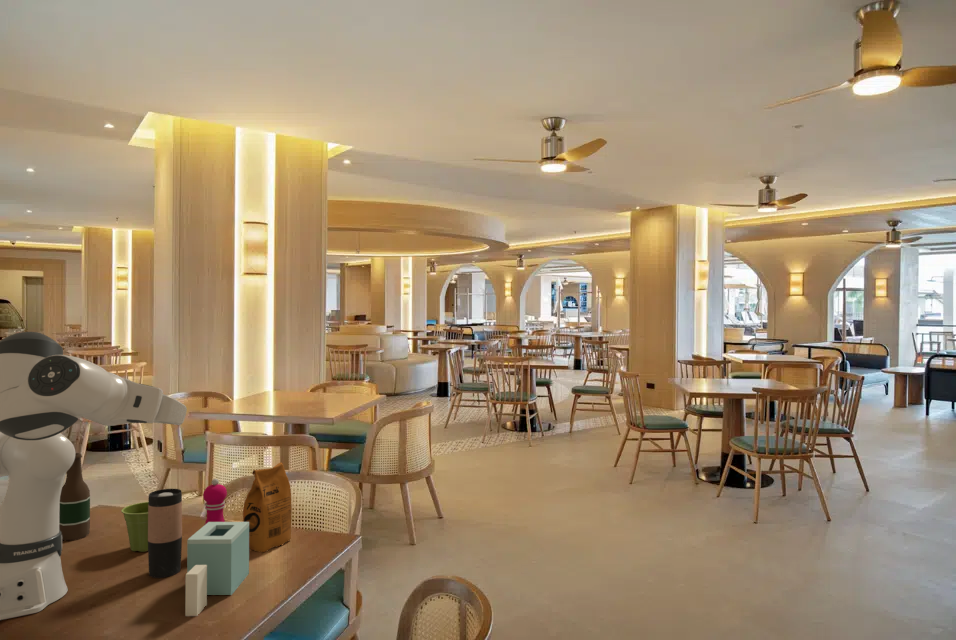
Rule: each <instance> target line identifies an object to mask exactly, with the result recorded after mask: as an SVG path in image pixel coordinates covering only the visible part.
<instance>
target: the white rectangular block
mask: <svg viewBox="0 0 956 640" xmlns="http://www.w3.org/2000/svg"><path fill="white" fill-rule="evenodd" d="M207 598H208V596H207V565H195V566H194V567H193V568H192V569H191V570H190V571H189V572H188V573H186V574H185V608H184V609H185V617H198V616H199V615H198V614H200V613H202V611H203V610H204V609H205V608H206V607H207V606H208V599H207ZM205 606H206V607H205ZM204 607H205V608H204Z"/></svg>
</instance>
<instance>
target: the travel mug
mask: <svg viewBox="0 0 956 640" xmlns="http://www.w3.org/2000/svg"><path fill="white" fill-rule="evenodd" d="M182 495H183V493H182V490H181V489H180V488H163V489H157V490H154V491H151V492H150V493H148V500H147V502H148V551H147V552H148V554H147V555H148V557H147V558H148V559H147V560H148V575H149V577H151V578H152V579H153V578H154V579H162V578H163V579H164V578H167V577H171V576H174V575H177V574H178V573H180V571H181V569H182V550H183V549H182V547H183V546H182V545H183V544H182V543H183V501H182V500H183V496H182Z"/></svg>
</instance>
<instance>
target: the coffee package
mask: <svg viewBox="0 0 956 640" xmlns="http://www.w3.org/2000/svg"><path fill="white" fill-rule="evenodd" d="M251 474H252V475H253V476H254V480H253V482H252V484H251V488H250V490H249V491H248V493H247V495H246V497H245V500H244V504H243V509H242V522H249V550H251V551H255V552H257V553H258V552H259V553H265V552H266V553H267V551H269V550H271V549H273V548H277V547H276V546H279V547H281V546H280V545H282V544H283V545H285V544H286V543H287V542H289V541H291V540H290V539H292V517H293V516H292V515H293V514H292V513H293V512H292V510H293V509H292V507H293V506H292V490H291V489H292V488H291V482H290V480H289V477H288V475H287V472H286V469H285V466H284V464H283V463H282V462H278V463H276V465H274V466H273V467H272V468H271V467H270V468H264V469H262V468H261V469H259V468H258V469H253V470H252V472H251ZM285 542H286V543H285ZM284 543H285V544H284ZM283 545H282V546H283Z"/></svg>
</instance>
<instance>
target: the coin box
mask: <svg viewBox="0 0 956 640" xmlns="http://www.w3.org/2000/svg"><path fill="white" fill-rule="evenodd" d="M186 541H187V542H186V543H187V547H186V549H187V550H186V552H187V553H186V555H187V557H186V558H187V561H186V562H187V563H186V564H187V565H186V566H187V573H188V572H189V571H190V570H191V569H192V568H193V567H194V566H195V565H207V595H231V596H233V594H234V593H235V591H237V589H238V588H239V587H240V585H241V584H242V583H243V581H244V580H245V579H246V578H247V576H248V575H249V574H250V549H249V522H243V521H225V522H208V523H207V524H206V525H205V524H204V525H203V526H201V528H200V529H198V530H196V532H195V533H194V534H192V535H191V536H190V537H188V539H187V540H186ZM187 573H186V574H187Z"/></svg>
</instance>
